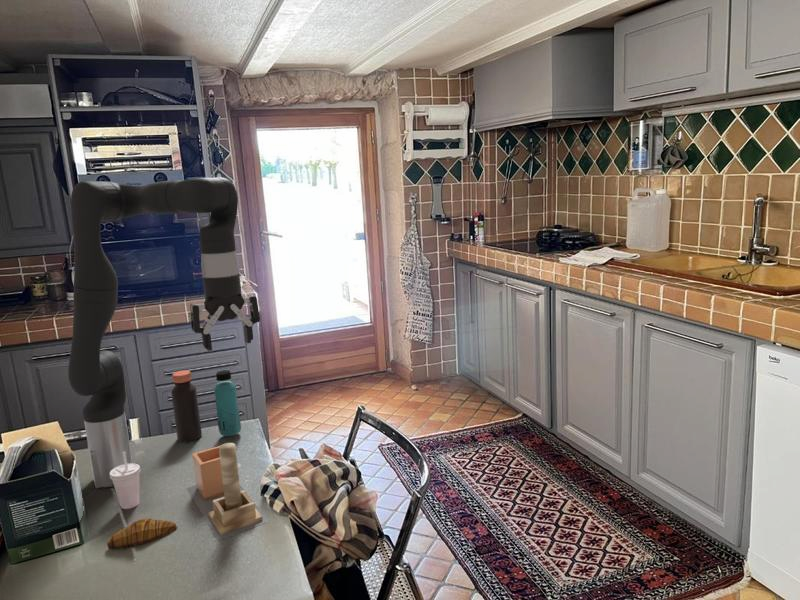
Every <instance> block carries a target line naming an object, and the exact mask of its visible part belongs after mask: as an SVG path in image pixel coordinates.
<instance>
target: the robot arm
mask: <svg viewBox="0 0 800 600" xmlns="http://www.w3.org/2000/svg"><path fill="white" fill-rule="evenodd" d="M70 195H71V196H70V214H71V225H72V226H71V227H72V234H73V235H72V236H73V252H74V253H73V254H74V255H73V256H74V257H73V258H74V264H73V266H74V271H73V273H74V275H73V319H72V338H71V349H70V355H69V361H68V374H67V375H68V381H69V382H68V383H69V384H70V386H71V388H72V389H73V391H74V393H76V394H77V395H79V396H82V397H90V396H91V397H90V399H89V400H88V402H87V403H86V404H85V405H84V407H83V409H82V417H83V423H84V428H85V429H84V430H85V434H86V435H85V436H86V440H87V449H88V451H87V452H88V455H89V462H90V468H91V474H92V480H93V482H94V486H95V489H100V488H109V487H110V488H111V487H114V484H113V481H112V479H110V471H111V470H112V469H114V468H116V467H118V466H120V465H124V457H123V452H126V459H127V464H129V463H133V457H132V451H131V444H130V437H129V429H128V425H127V423H128V422H127V418H126V411H125V403H126V399H127V395H126V383H125V374H124V367H123V365H122V361H121V359H120V358H119V356H118V355H116V354H115V352H112V351H110V350H106V349H105V350H101V346H102V340H103V337H104V335H105V333H106V331H107V329H108V327H109V325H110V323H111V321H112V318H113V317H114V314H115V311H116V309H117V306H118V295H119V294H118V293H119V292H118V289H119V279H118V276H117V272H116V270H115V269H114V266H113V265H112V263H111V261H110V260H109V258H108V256H107V255H106V253H105V252H104V248H103V246H102V239H101V225H102V223H111V222H116V221H120V220H124V219H126V218H130V217H133V216H138V215H143V214H154V215H178V214H181V215H182V214H186V213H188V214H190V213H191V214H207V213H210V214H209V221H208V222H207V223H206V224H204V225H202V226H201V227H200V228H199V232H198V233H199V244H200V245H199V247H200V253H201V263H200V264H201V265H200V266H201V272H202V282H203V283H202V284H203V290H204V302H203V303H190V305H189V308H190V309H189V312H190V324H191V325H190V327H191V330H192V332H194V333H196V334H201V340H202V346H203V348H204V349H206V350H207V351H208V352H211V351H213V347H212V345H213V344H212V337H211V333H210V331H212V328H213V327H214V326H215V325H216V323H217V322H218V321H219V322H222V321H223V322H224V321H226V320H234V319H236V318H237V319H238V320H240V321H241V323H242V324H244V325H243V334H244V341H245V343H246V344H252V341H253V340H254V331H253V326H254V324H256V323H259V322H261V317H260V312H259V304H258V298H257V296H255V295H252V294H249V295H247V296H245V297H243V295H242V286H241V285H242V284H241V276H240V266H239V265H240V264H239V259H238V255H237V251H236V250H237V249H236V241H235V233H234V231H235V228H236V227H235V226H236V220H237V213H238V207H239V206H238V205H239V201H238V200H239V197H238V192H237V189H236V186H235V185H234V184H233V182H232V181H231V180H229V179H228V178H226V177H221V176H220V177H219V176H218V177H195V178H190V179H189V178H188V179H184V180H183V179H182V180H181V179H179V180H163V181H157V182H151V183H148V184H145V185H132V184H131V185H130V184H123V183H116V182H114V181H100V180H99V181H98V180H94V181H93V180H85V181H83V180H82V181H80V182H78V183H76V184H75V185H74V187H73V189H72V190H71V194H70ZM244 304H246V306H248V307H249V311H250V312H249V313H250V317H247V315H246V314H245V313H244V312H243V311H242V310H241V309H242V308H243V306H244ZM204 310H205V311H206V312H207V313H208V314H207V315H206V318H205V319H204V322H203V324H202V325H201V323H200V319H201V318H200V315H201V314H202V313H203V311H204Z"/></svg>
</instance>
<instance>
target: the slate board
mask: <svg viewBox="0 0 800 600" xmlns="http://www.w3.org/2000/svg"><path fill="white" fill-rule="evenodd" d="M186 489H187V491H188V493H189V494H190V496H191V498H192V500H193V501H194V503H195V505H196V506H197V508H198V509H199V511H200V513H201V515H202V517H203V518H204V520H205V521H206V523H207V524H208V526H209V528H210V530H211V531H212V533H213V535H214V536H215V538H216V539H217V541H218V542H219V541H222V540H224V539H227V538H230V537H232V536H236V535H237V534H240V533H243V532H246V531H248V530H251V529H254V528H257V527H259V526H261V525H265V524H266V523H269V522H270V520H269V519H268V517H267V516H266V515H265V514H264V513H263V512H262V511H261V509H260V508H259V507H258V505H257V504H256V503H255V502H254V500H253V499H252V498H251V496H250V495H249V494H248V493H247V491H245V489H244V488H243V486H242V485H241V484H240V491H243V490H244V491H245V492H246V493H247V495H248V496H249V497H250V498H251V500H252V501H253V502H254V503H255V508H256V509H257V511H258V512H259V513H260V514H261V516H262V520H261V521H258V522H255V523H253V524H250V525H247V526H245V527H242V528H239V529H236V530H234V531H231V532H228V533H226V534H223V535H220V533H219V531H218V530H217V528H216V527H215V525H214V523H213V522H212V520H211V518H210V517H209V513H208V512H211V511H214V507H213V500H216V499H219V498H222V497H225V496H224V494H223V495H220V496H217V497H214V498H211V499H208V500H204V499H203V497H202V496H201V494H200V492H199V491H198V489H197V486H196V485H192V486H190V487H187V488H186Z"/></svg>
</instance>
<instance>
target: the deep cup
mask: <svg viewBox="0 0 800 600" xmlns="http://www.w3.org/2000/svg"><path fill="white" fill-rule="evenodd" d="M219 446H220V445H219ZM219 446H214V447H211V448H208V449H204V450H201V451H197V452H194V453H192V454H191V455H192V462H193V470H194V478H195V483H196V484H195V486H197V489H198V491H199V492H200V494H201V496H202V497H203V499H204V500H208V499H211V498H214V497H217V496H220V495H223V494H224V488H223V479H222V471H221V462H220V454H219Z"/></svg>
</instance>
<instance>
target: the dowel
mask: <svg viewBox="0 0 800 600" xmlns="http://www.w3.org/2000/svg"><path fill="white" fill-rule="evenodd" d="M219 454H220V462H221V471H222V479H223V488H224V496H225V505H226V511H229V510H232V509H234V508H237V507H240V506H242V500H241V491H240V485H241V483H240V482H241V481H240V474H239V465H238V457H237V448H236V443H234V442H225V443H223V444H221V445H219Z"/></svg>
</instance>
